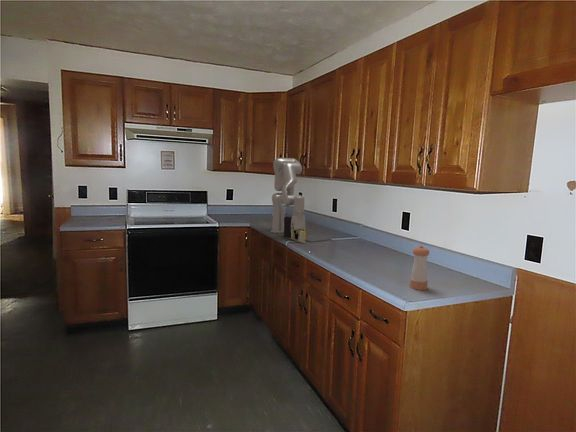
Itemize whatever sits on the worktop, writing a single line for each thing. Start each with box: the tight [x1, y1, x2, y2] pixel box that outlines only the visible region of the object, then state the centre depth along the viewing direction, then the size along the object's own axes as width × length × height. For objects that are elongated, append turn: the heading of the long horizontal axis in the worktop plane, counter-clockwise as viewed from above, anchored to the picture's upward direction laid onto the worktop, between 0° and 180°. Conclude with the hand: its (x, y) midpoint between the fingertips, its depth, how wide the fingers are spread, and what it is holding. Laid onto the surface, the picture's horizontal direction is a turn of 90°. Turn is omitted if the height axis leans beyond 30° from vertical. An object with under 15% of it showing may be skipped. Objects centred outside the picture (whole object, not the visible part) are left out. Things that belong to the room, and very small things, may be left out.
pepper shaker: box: [409, 245, 430, 291], centre depth 164 cm, size 7×7×19 cm
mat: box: [305, 235, 332, 244], centre depth 268 cm, size 12×19×1 cm, turn 124°
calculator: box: [283, 216, 292, 238], centre depth 277 cm, size 11×4×15 cm, turn 76°
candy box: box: [290, 230, 307, 244], centre depth 260 cm, size 16×2×8 cm, turn 32°
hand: (298, 238), depth 261 cm, fingers closed on candy box, 2 cm apart
